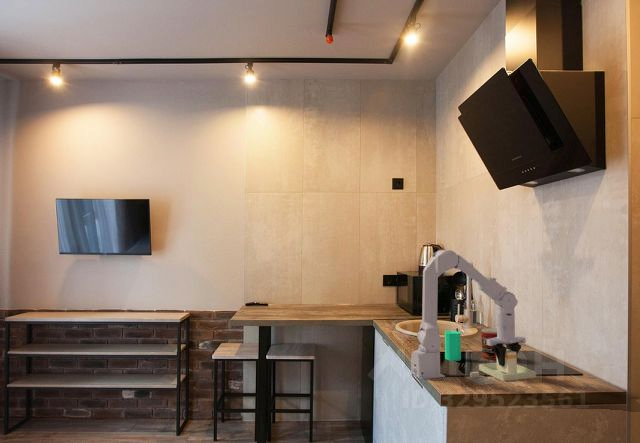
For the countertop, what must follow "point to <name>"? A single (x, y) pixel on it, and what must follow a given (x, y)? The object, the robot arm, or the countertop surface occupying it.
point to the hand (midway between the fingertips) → (506, 365)
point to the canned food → (486, 349)
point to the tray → (521, 373)
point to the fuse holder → (480, 379)
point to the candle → (452, 345)
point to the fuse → (509, 362)
